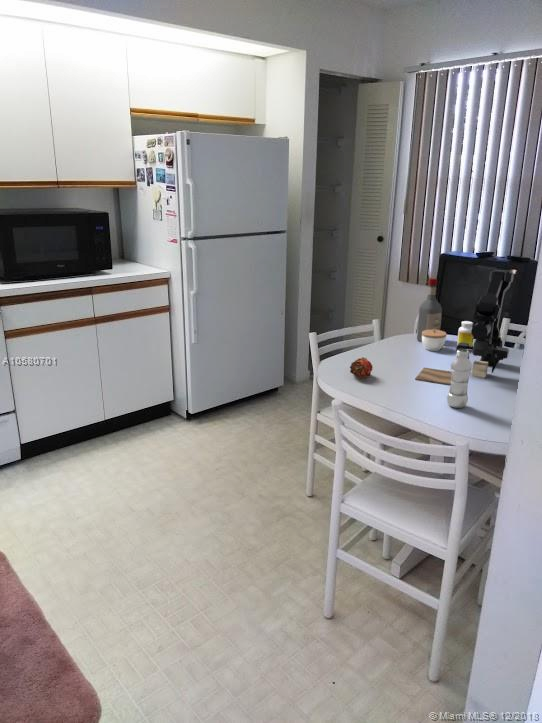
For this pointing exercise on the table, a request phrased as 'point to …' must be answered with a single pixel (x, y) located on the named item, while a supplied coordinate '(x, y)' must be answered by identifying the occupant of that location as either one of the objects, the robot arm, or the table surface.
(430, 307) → the liquor
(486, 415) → the table surface
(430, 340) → the lidded jar
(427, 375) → the walnut board
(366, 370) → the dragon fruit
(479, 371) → the maple cube
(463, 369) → the plastic bottle
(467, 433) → the table surface
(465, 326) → the supplement bottle
